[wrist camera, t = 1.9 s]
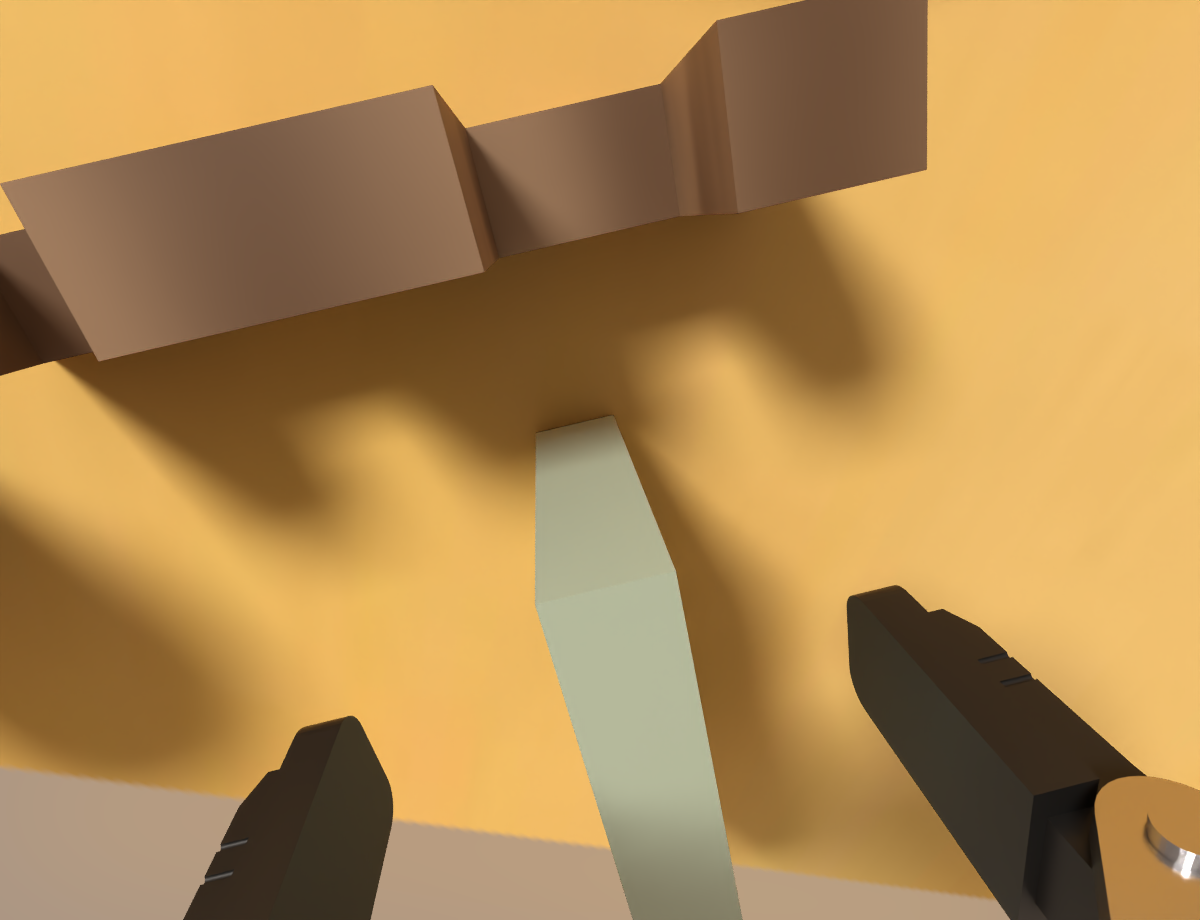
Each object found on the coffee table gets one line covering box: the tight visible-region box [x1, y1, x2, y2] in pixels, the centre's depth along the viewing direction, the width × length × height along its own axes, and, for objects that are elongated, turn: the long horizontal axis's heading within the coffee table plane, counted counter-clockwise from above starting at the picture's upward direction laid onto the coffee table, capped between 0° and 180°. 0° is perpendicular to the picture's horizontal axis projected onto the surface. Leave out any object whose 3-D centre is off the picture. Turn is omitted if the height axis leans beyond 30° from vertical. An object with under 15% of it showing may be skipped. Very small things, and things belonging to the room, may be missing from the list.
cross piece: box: [535, 415, 742, 920], centre depth 17 cm, size 14×2×9 cm, turn 12°
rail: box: [0, 0, 928, 376], centre depth 12 cm, size 20×2×8 cm, turn 102°
